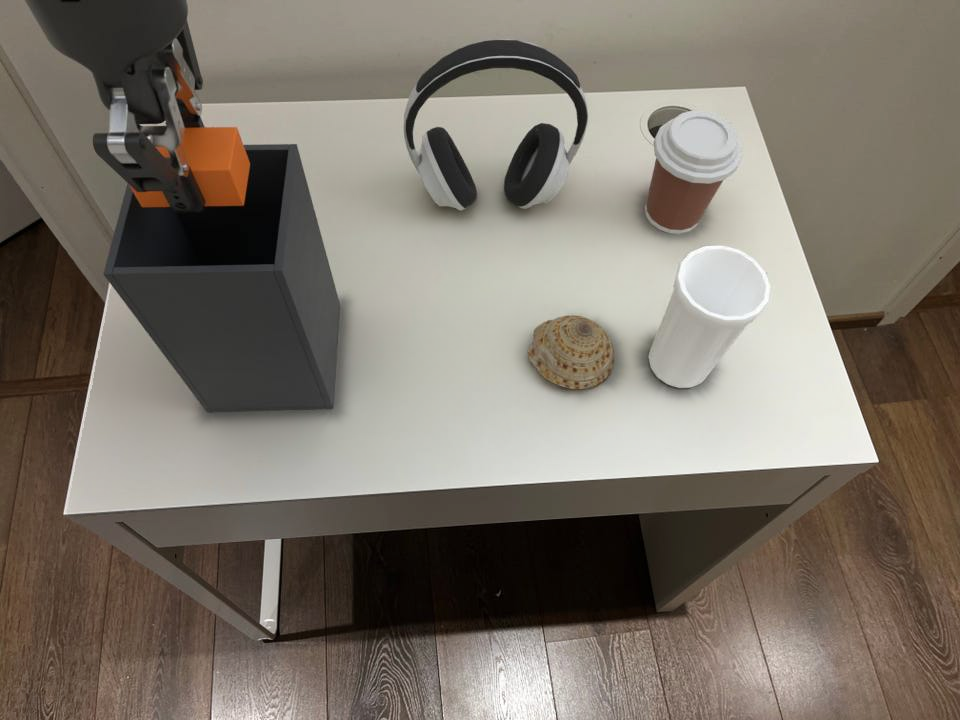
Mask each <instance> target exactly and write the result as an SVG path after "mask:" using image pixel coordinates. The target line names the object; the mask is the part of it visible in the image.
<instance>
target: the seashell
mask: <svg viewBox="0 0 960 720" xmlns="http://www.w3.org/2000/svg"><path fill="white" fill-rule="evenodd" d="M614 354H615V353H614V347H613V344H612V340H611V339H610V337H609V335H608V333H607V332H606V331H605V329H603V328H602V326H601V325H599V324H598V323H596V322H595V321H594V320H591V319H590V318H587V317H585V316H581V315H575V314H569V315H568V314H566V315H563V316H559V317H556V318H554V319H548V320H546V321H544V322H543V323H541V324H540V325H538V326H536V327H535V328H534V330H533V333H532V345H530V347H529V348H528V350H527V355H528V358H529V361H530V362H531V363H532V366H533V367H534V368H536V369H537V372H538V373H540V375H542V377H543V378H545V380H547V381H549V382H551V383H553V384H554V385H557V386H560V387H563V388H566V389H571V390H585V389H588V388H589V389H590V388H593V387H596V386H597V385H599V384H601V383H603V382H604V381H605V380H606V379H607V378H608V377H609V375H610V374H611V372H612V370H613V368H614V362H615V361H614V360H615V355H614Z"/></svg>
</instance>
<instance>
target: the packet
mask: <svg viewBox="0 0 960 720" xmlns="http://www.w3.org/2000/svg"><path fill="white" fill-rule="evenodd" d="M185 130H186V133H185V136H184V138H183V140H182V142H181V144H182V147H183V150H184V153H185V156H186V159H187V162H188V165H189V166H190V168H191V171H192V173H193V175H194V177H195V180H196V182H197V184H198V186H199V188H200V190H201V192H202V195H203V197H204V199H205V206H243V205H244V201H245V194H246V188H247V182H248V175H249V169H250V162H249V159H248V156H247V154H246V151H245V148H244V145H245V144H244V143H243V140H242V137H241V134H240V132H239V128H238V127H237V126H217V127H216V126H209V127H208V126H207V127H206V126H204V127H201V128H185ZM155 147H156V148H157V149H158V151H159V152H160V153H161V154H162V155H163V156H164V157H170V155H169V152H168V149H167V148H165V147H163V146H155ZM129 186H130V185H129ZM130 188H131V189H132V191H133V193H134V194H135V196H136V198H137V200H138V201H139V203H140V205H141V206H142V207H170V205H169V203H168V201H167V200H166V198H165V196H164V194H163V192H162V191H147V192H137V191H136V190H135V189H134V188H132V187H131V186H130Z"/></svg>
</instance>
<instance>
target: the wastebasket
mask: <svg viewBox="0 0 960 720" xmlns="http://www.w3.org/2000/svg"><path fill="white" fill-rule="evenodd" d="M243 145H244V148H245V151H246V154H247V156H248V159H249V162H250V169H249V175H248V182H247V188H246V194H245V201H244V205H243V206H205V207H204V211H203V212H199V213H175V212H174V211H173V210H172V209H171V207H142V206H141V205H140V203H139V201H138V200H137V198H136V196H135V194H134V193H133V191H132V189H131V188H130V186H129V184H128V183H126V184H127V185H126V187H125V191H124V195H123V199H122V203H121V206H120V210H119V214H118V217H117V222H116V225H115V229H114V233H113V237H112V239H111V243H110V247H109V251H108V255H107V258H106V262H105V266H104V270H103V276H104V278H105V279H106V280H107V281H108V283H109V284H110V285H111V287H112V288H113V289H114V290H115V292H116V293H117V294H118V296H119V297H120V299H121V300H122V301H123V303H124V304H125V306H127V308H128V309H129V311H130V312H131V313H132V315H133V316H134V317H135V318H136V320H137V321H138V323H139V324H140V325H141V327H142V328H143V329H144V331H145V332H146V333H147V334H148V336H149V337H150V339H151V340H152V341H153V342H154V344H155V345H156V347H157V348H158V349H159V351H160V352H161V353H162V355H163V356H164V357H165V358H166V360H167V362H169V364H170V365H171V367H172V368H173V369H174V371H175V372H176V373H177V374H178V376H179V377H180V378H181V380H182V382H184V384H185V386H187V388H188V390H190V392H191V393H192V394H193V396H194V397H195V398H196V400H197V401H198V402H199V404H200V405H201V406H202V407H203V409H204V411H205V412H206V413H230V412H257V411H258V412H263V411H266V412H267V411H299V410H303V411H304V410H333V409H334V406H335V390H336V389H335V388H336V376H337V373H336V372H337V359H338V343H339V329H340V313H341V303H340V299H339V295H338V292H337V287H336V285H335V281H334V277H333V273H332V270H331V266H330V262H329V258H328V255H327V251H326V247H325V244H324V239H323V236H322V233H321V228H320V226H319V222H318V218H317V214H316V211H315V207H314V203H313V200H312V196H311V192H310V188H309V184H308V181H307V176H306V173H305V170H304V165H303V163H302V158H301V154H300V151H299V147H298V144H297V143H282V144H281V143H277V144H276V143H274V144H271V143H270V144H243Z"/></svg>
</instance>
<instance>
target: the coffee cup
mask: <svg viewBox="0 0 960 720" xmlns="http://www.w3.org/2000/svg"><path fill="white" fill-rule="evenodd" d="M653 152H654V156H655V162H654V166H653V170H652V176H651V179H650V184H649V189H648V193H647V196H646V197H647V198H646V202H645V205H644V210H645V211H644V212H645V216H646V218H647V219H648V221H649V224H651V225H652V226H654V228H656V229H658V230H659V231H663V232H665V233H667V234H674V235H675V234H676V235H681V234H685V233H689V232H691V231H692V230H693V229H695V228H696V227H697V226H698V224H699V223H700V220H701V218H702V217H703V215H704V213H706V210H707V208H709V205H710V203H711V202H712V200H713V199H714V197H715V195H716V193H717V192H718V190H719V188H720V187H721V185H722V183H723V182H724V181H725V180H727V179H728V178H729V177H731V176H732V175H733V174H735V172H737V170H738V168H739V165H740V162H741V160H742V157H743V151H742V144H741V141H740V140H739V138H738V133H737V130H736V129H735V127H734V126H733V125H732V123H731V122H730V121H729V120H727V119H725V118H724V117H723V116H721V115H720V114H718V113H714V112H711V111H708V110H695V109H694V110H690V111H685V112H682V113H680V114H678V115H676V117H674V118H671V119H669V121H667V122H666V123H664V124H663V125H661V126H660V127H659V128H658V131H657V133H656V135H655V137H654V140H653Z"/></svg>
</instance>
